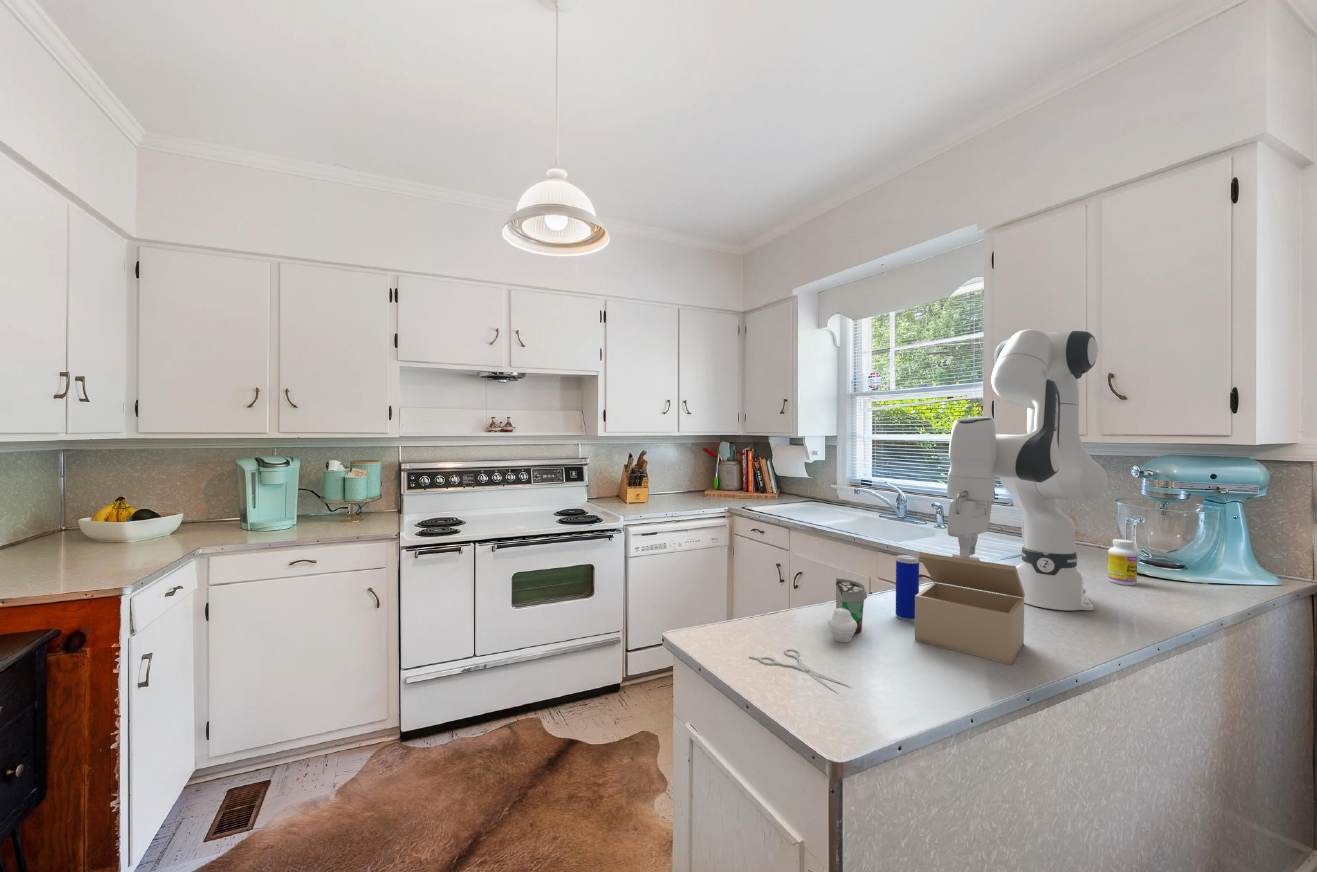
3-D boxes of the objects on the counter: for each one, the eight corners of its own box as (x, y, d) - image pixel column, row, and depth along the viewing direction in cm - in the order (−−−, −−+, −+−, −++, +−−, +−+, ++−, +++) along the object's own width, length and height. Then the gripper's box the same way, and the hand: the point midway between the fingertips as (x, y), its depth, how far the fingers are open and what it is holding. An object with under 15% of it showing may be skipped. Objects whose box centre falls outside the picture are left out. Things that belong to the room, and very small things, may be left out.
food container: (871, 639, 119) (871, 594, 119) (842, 637, 120) (842, 592, 120) (862, 620, 131) (862, 579, 131) (835, 618, 132) (835, 577, 132)
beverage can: (918, 615, 134) (918, 555, 134) (919, 622, 129) (919, 560, 129) (895, 613, 136) (896, 553, 136) (895, 619, 131) (896, 558, 131)
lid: (933, 581, 128) (935, 575, 129) (1024, 597, 116) (1025, 591, 117) (919, 556, 120) (920, 549, 121) (1014, 570, 108) (1015, 563, 108)
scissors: (786, 645, 115) (866, 681, 98) (786, 648, 115) (866, 685, 98) (748, 656, 109) (826, 697, 92) (748, 660, 109) (826, 701, 92)
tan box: (933, 623, 129) (933, 582, 128) (1023, 644, 116) (1024, 598, 116) (914, 640, 118) (914, 595, 118) (1011, 665, 106) (1012, 614, 106)
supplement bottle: (1128, 587, 159) (1128, 543, 159) (1102, 581, 165) (1103, 539, 165) (1142, 584, 161) (1142, 541, 161) (1116, 578, 168) (1117, 537, 167)
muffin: (823, 640, 119) (823, 608, 118) (833, 632, 123) (834, 601, 123) (851, 647, 115) (851, 614, 114) (861, 638, 119) (861, 607, 119)
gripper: (975, 493, 106) (972, 563, 106) (997, 491, 121) (994, 553, 121) (940, 490, 111) (937, 558, 110) (965, 489, 126) (962, 548, 125)
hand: (967, 555), depth 116 cm, fingers open, 2 cm apart
